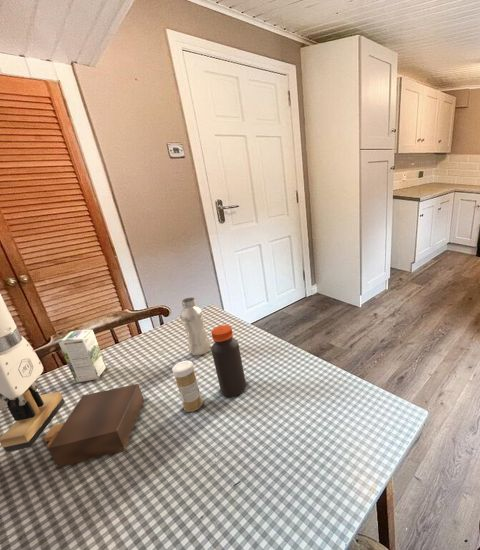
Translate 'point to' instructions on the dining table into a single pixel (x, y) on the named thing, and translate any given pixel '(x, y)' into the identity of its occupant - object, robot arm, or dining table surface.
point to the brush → (32, 422)
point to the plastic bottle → (194, 327)
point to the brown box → (98, 425)
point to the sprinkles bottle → (187, 385)
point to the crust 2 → (52, 439)
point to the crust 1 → (53, 431)
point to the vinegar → (228, 361)
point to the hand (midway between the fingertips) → (30, 412)
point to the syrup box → (83, 355)
